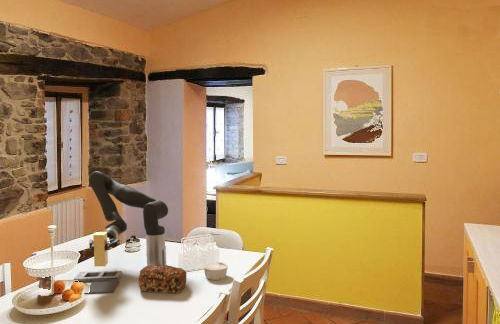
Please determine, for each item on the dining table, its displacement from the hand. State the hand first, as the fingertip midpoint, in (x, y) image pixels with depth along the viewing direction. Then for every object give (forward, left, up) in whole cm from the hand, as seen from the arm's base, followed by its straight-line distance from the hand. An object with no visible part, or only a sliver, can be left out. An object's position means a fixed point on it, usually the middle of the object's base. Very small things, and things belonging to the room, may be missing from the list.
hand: (99, 248), depth 186 cm
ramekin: (-50, -12, -19) cm, 55 cm away
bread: (-27, 0, -19) cm, 33 cm away
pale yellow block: (0, -3, -8) cm, 8 cm away
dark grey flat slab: (+5, -16, -19) cm, 25 cm away
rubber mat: (0, -3, -19) cm, 19 cm away
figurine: (+22, +1, -19) cm, 29 cm away
